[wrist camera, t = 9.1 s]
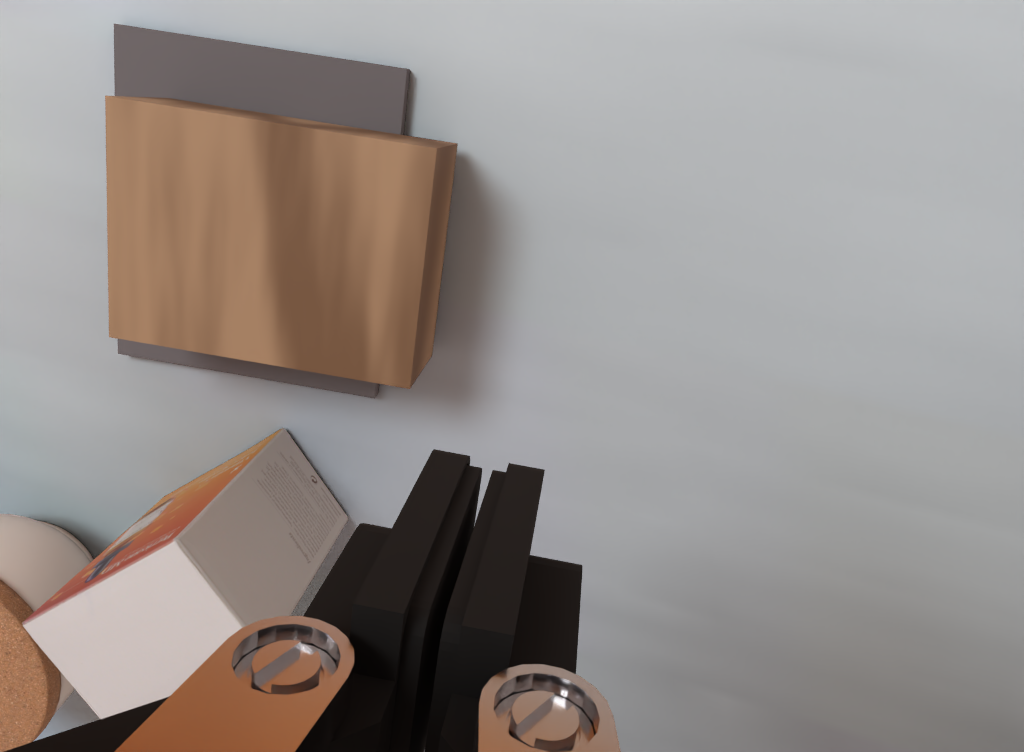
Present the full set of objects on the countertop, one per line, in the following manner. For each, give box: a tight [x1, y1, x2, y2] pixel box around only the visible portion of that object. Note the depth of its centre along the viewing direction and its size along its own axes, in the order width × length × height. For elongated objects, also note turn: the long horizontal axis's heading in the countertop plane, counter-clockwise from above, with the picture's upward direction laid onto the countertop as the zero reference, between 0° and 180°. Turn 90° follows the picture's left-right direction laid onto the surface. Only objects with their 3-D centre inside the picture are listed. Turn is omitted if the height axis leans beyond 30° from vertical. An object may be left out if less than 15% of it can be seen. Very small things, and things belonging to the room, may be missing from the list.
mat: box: [114, 24, 410, 398], centre depth 35 cm, size 12×14×1 cm
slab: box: [105, 96, 457, 389], centre depth 32 cm, size 5×9×12 cm
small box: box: [23, 428, 348, 719], centre depth 34 cm, size 8×6×10 cm
